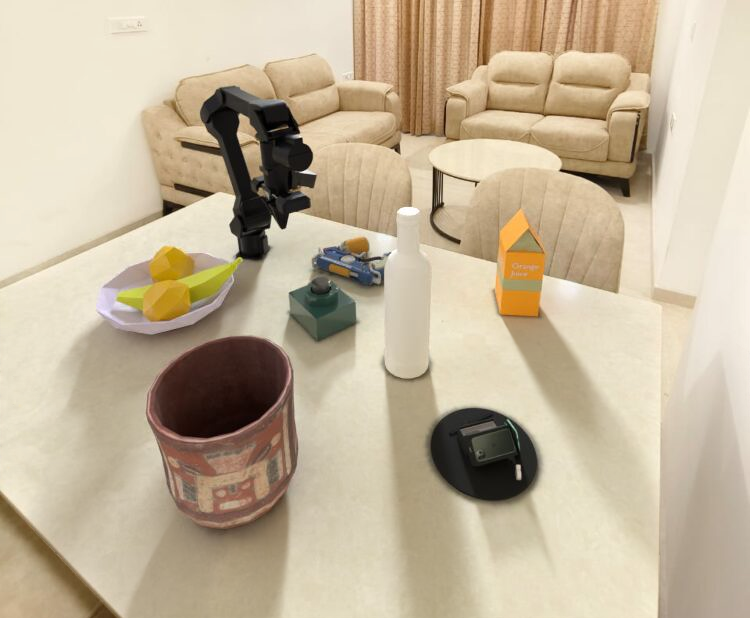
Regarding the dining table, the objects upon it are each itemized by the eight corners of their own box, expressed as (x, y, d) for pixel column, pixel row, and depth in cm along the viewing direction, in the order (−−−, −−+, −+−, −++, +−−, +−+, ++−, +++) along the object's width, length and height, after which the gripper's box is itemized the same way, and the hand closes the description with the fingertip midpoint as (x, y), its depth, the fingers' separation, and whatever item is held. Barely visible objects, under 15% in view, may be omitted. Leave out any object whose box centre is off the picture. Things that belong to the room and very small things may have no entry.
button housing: (290, 312, 103) (287, 284, 101) (327, 297, 108) (325, 269, 106) (317, 341, 95) (315, 310, 92) (356, 322, 100) (355, 293, 97)
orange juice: (530, 291, 109) (540, 208, 102) (538, 316, 101) (550, 228, 94) (493, 289, 110) (501, 207, 103) (499, 314, 102) (507, 227, 94)
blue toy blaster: (341, 241, 131) (306, 268, 119) (341, 227, 129) (305, 253, 117) (412, 263, 121) (381, 295, 109) (413, 248, 120) (381, 279, 108)
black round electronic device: (457, 514, 64) (459, 484, 62) (415, 422, 77) (416, 394, 75) (558, 482, 68) (564, 453, 66) (502, 400, 81) (505, 373, 79)
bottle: (426, 382, 85) (431, 224, 74) (380, 376, 86) (379, 220, 75) (430, 351, 92) (436, 202, 81) (388, 345, 93) (388, 199, 82)
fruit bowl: (70, 340, 96) (56, 290, 92) (159, 267, 120) (150, 225, 116) (200, 363, 90) (191, 310, 85) (266, 281, 114) (261, 237, 110)
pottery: (147, 483, 68) (121, 381, 62) (258, 410, 80) (246, 317, 73) (210, 587, 56) (185, 474, 50) (330, 484, 68) (323, 380, 61)
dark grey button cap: (308, 289, 99) (308, 280, 99) (324, 283, 101) (323, 274, 101) (318, 297, 97) (317, 288, 96) (333, 291, 99) (333, 281, 98)
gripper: (330, 164, 102) (335, 233, 107) (291, 145, 116) (298, 206, 122) (280, 175, 96) (288, 248, 101) (245, 154, 111) (254, 218, 116)
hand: (283, 228), depth 110 cm, fingers closed
